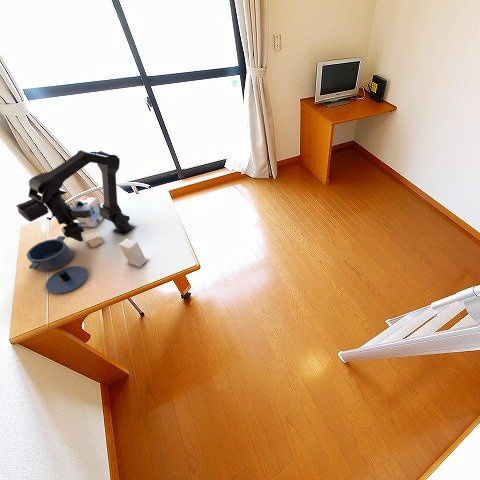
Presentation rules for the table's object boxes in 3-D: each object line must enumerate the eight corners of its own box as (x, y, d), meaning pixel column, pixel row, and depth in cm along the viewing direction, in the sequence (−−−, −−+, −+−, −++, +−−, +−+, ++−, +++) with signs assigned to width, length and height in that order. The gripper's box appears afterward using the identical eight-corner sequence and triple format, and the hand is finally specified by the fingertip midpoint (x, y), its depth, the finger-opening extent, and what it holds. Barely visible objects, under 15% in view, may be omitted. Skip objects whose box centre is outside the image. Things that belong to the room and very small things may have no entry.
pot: (83, 245, 128) (75, 236, 124) (56, 276, 115) (47, 267, 111) (53, 244, 128) (45, 234, 123) (23, 275, 114) (13, 265, 110)
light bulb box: (94, 227, 137) (84, 210, 130) (80, 226, 137) (69, 209, 130) (106, 214, 145) (97, 197, 138) (93, 213, 145) (83, 196, 137)
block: (99, 238, 133) (94, 231, 130) (102, 243, 131) (98, 236, 128) (88, 242, 130) (83, 235, 127) (92, 247, 128) (87, 240, 125)
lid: (95, 268, 120) (89, 260, 116) (75, 295, 110) (68, 287, 106) (61, 267, 119) (54, 258, 115) (38, 293, 109) (29, 285, 105)
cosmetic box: (147, 260, 126) (137, 242, 118) (140, 267, 123) (129, 248, 115) (136, 256, 127) (126, 238, 119) (128, 263, 124) (117, 244, 116)
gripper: (89, 210, 109) (107, 238, 120) (76, 188, 118) (93, 216, 129) (54, 222, 103) (76, 250, 114) (43, 198, 112) (64, 226, 123)
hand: (78, 235), depth 120 cm, fingers open, 9 cm apart
